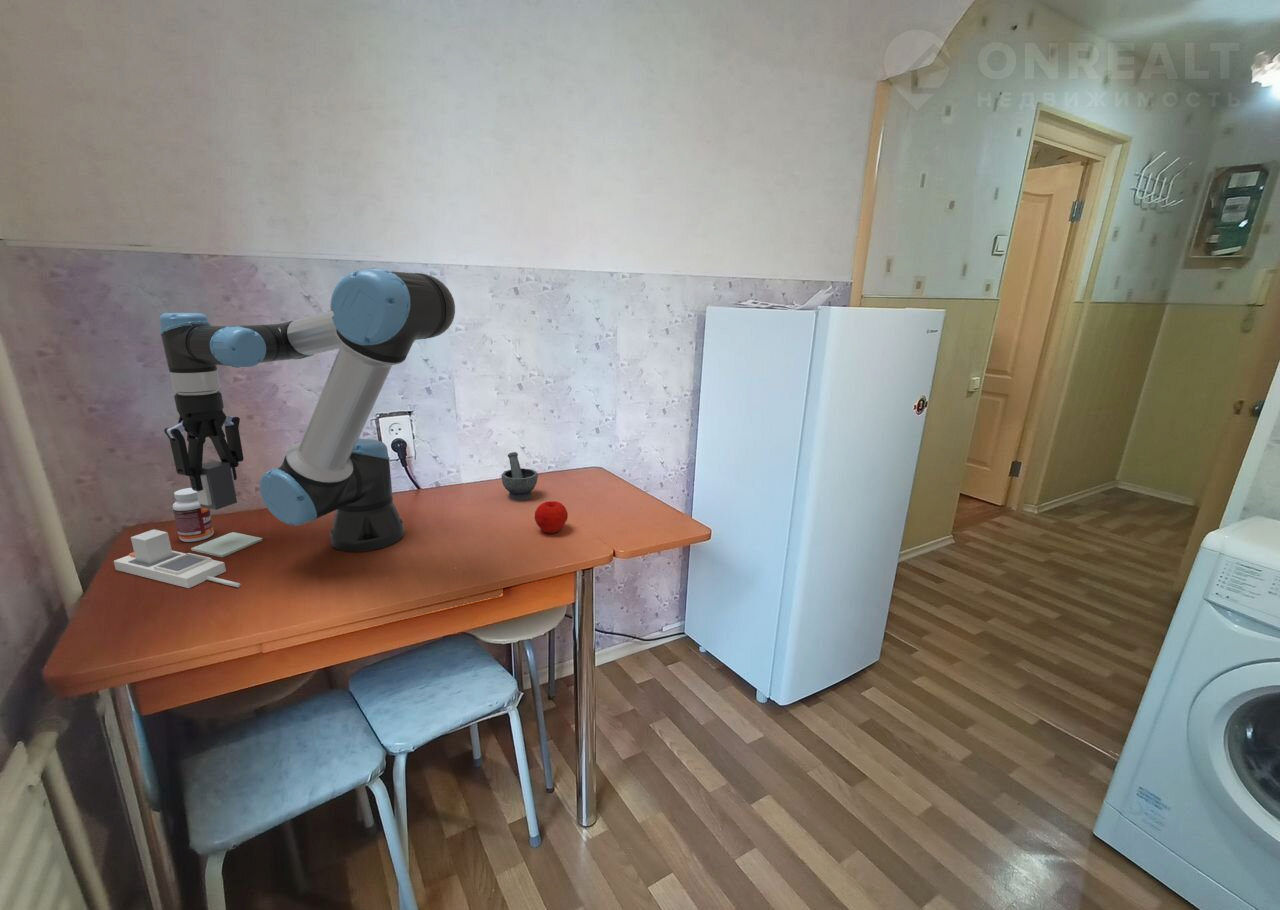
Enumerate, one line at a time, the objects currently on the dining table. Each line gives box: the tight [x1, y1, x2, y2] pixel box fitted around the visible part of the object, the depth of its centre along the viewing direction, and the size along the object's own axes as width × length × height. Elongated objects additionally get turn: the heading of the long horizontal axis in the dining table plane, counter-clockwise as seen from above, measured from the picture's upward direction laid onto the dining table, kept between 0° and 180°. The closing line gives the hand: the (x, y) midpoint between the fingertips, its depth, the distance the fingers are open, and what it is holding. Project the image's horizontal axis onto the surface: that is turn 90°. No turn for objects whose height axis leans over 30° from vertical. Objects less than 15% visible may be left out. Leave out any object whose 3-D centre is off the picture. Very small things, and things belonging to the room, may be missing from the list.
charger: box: [200, 460, 238, 510], centre depth 115 cm, size 4×5×9 cm
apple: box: [534, 500, 569, 534], centre depth 131 cm, size 8×8×7 cm
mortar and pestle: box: [501, 451, 539, 502], centre depth 152 cm, size 11×9×12 cm
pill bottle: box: [172, 487, 215, 543], centre depth 121 cm, size 6×6×11 cm
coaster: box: [190, 531, 263, 558], centre depth 119 cm, size 9×9×1 cm
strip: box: [113, 528, 241, 589], centre depth 106 cm, size 28×7×7 cm, turn 72°
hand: (218, 499), depth 116 cm, fingers closed on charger, 5 cm apart
